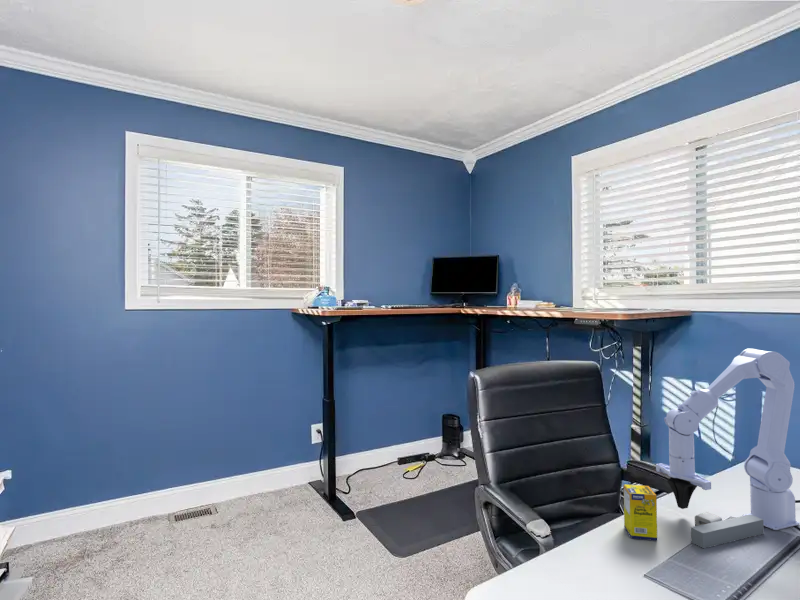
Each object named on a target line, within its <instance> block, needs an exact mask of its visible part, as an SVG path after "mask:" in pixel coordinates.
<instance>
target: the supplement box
mask: <svg viewBox="0 0 800 600" xmlns="http://www.w3.org/2000/svg"><path fill="white" fill-rule="evenodd" d="M657 498H658V497H657V494H656V493H655V492H654V491H653V489H652V488H651V487H650V486H649V485H639V484H623V521H624V522H623V523H624V524H623V525H624V526H623V527H624V529H625V531H626V532H627V534H628V536H629V538H630V539H632V540H633V539H634V540H644V541H645V540H646V541H655V542H657V541H658V520H657V519H658V514H657V511H658V510H657V509H658V507H657Z"/></svg>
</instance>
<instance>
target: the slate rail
mask: <svg viewBox="0 0 800 600" xmlns="http://www.w3.org/2000/svg"><path fill="white" fill-rule="evenodd" d="M744 515H745V514H744ZM764 527H765V526H763V519H761V518H758V517H756V516H753V515H751V514H750V515H745V516H742V515H741V516H736V517H733V518H727V519H722V521H718V522H713V523H708V524H704V525H699V526H695V525H694V526H691V527H690V543H691V544H694V545H695V544H696V545H695V546H697V545H698V546H697V547H699V546H700V547H699V548H701V547H702V549H703V548H704V549H707V548H706V547H708V548H710V546H712V547H715V546H714V545H716V546H719V544H720V545H723V543H724V544H727V543H726V542H729V543H731V542H730V541H733V542H735V541H734V540H737V541H739V539H741V540H744V539H743V538H745V539H747V538H746V537H749V538H751V537H750V536H754V537H756V536H755V535H758V536H762V535H764V532H765V531H764V529H765V528H764ZM761 534H762V535H761Z"/></svg>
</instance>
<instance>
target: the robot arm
mask: <svg viewBox="0 0 800 600" xmlns="http://www.w3.org/2000/svg"><path fill="white" fill-rule="evenodd" d="M790 365H791V362H790V361H789V360H788V359H787V358H785V357H784V356H783V354H781V353H779V352H777V351H771V350H770V351H767V350H761V349H757V348H754V347H753V348H752V347H751V348H749V347H748V348H746V349H744V350H742V351H741V352H740V354H738V355H737V356H734V358H733V359H732V361H731V363H730V364H729V365H728V366H727V367H726V369H724V370H723V371H722V372H721V373H720V374H719V375H718V376H717V377H716V378H715V380H714V381H712V382H711V383H710V384H709V386H707V388H704V389H703V388H697V390H692V391H691V392H690V393H689V394H690V395H689V397H688V398H686V399H685V400H684V401H683V402H682V403H681V404H680V403H678V404H677V405H676V408H672V409H670V410H669V411H668V412H667V413H666V416H665V417H664V419H663V421H664V423H665V425H666V426H667V427H668V458H669V459H668V461H669V465H668V464H666V463H661V462H660V463H656V464H655V471H656V472H657V473H663V474H667V475H668V477H670V478H667V480H666V481H667V483H668V485H669V487H670V488H671V491H672V493H673V496H674V498H675V502H676V504H677V508H679V509H682V510H684V509H688V508H689V504H690V501H691V498H692V495H693V493H694V492H695V491H696V488H698V487H700V488H701V489H702V490H703V491H704V490H705V491H709V490H712V481H710V480H708V479H706V478H704V477H702V476H701V475H699V474H697V473H696V467H695V466H696V465H695V464H696V463H695V461H696V459H695V433H696V432H697V431H698V429H699V427H700V426H699V425H700V424H699V423H700V422H701V421H702V420H703V419H704V418H705V417H707V416H708V415H709V414H710V413H711V412H713V411H714V410H715V409H716V408H717V407H718V405H719V398H721V397H722V396H723V395H725V394H726V393H727V392H728V391H730V390H731V389H732V388H734V387H735V386H736V385H738V384H739V383H740V382H741V381H743V380H747V379H756V378H757V379H758V380H759V381H760V382H761V383H762V384H763V385H764V386H765V387H766V389H765V395H764V401H763V408H762V413H761V414H762V415H761V420H760V426H759V431H758V437H757V438H758V439H757V445H755V446H754V447H753V448H751V449H750V452H749V455H748V457H747V459H745V461H744V465H743V467H744V471H745V473H746V474H747V476H749V481H750V482H749V483H750V484H749V486H750V487H749V488H750V493H749V494H750V512H749V513H745V514H742V515H741V516H745V515H750V514H751V515H753V516H756V517H758V518H761V519H763V527H766V528H768V529H770V530H773V531H778V530H783V529H787V528H791V527H796V526H799V525H800V521H797V520H796V496H795V495H794V493H793V491H792V490H791V489H790V488H791V487H792V485H793V475H792V472H791V467H792V466H791V462H790V460H789V459H788V457H787V456H786V454H785V451H786V442H787V437H788V429H789V423H790V420H791V419H790V417H791V412H792V404H793V399H794V392H795V388H796V387H795V386H796V385H795V381H794V377H793V376H792V373H791V370H790Z"/></svg>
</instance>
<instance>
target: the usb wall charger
mask: <svg viewBox="0 0 800 600" xmlns="http://www.w3.org/2000/svg"><path fill="white" fill-rule="evenodd" d="M722 520H723V519H722V516H720V515H717V514H714V513H712V512H709V511H705V512H703V513H699V514H696V515H694V527H695V526H699V525H704V524H708V523H713V522H718V521H722Z"/></svg>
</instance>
